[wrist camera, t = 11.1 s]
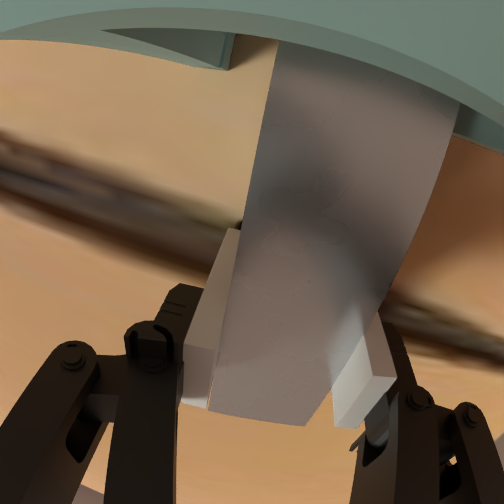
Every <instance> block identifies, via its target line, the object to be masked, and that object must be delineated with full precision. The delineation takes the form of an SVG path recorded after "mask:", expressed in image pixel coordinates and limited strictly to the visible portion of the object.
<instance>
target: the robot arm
mask: <svg viewBox="0 0 504 504" xmlns="http://www.w3.org/2000/svg"><path fill="white" fill-rule="evenodd" d="M240 232H241V230H237V229H232V228H228V230H227V232H226V235H225V237H224V240H223V242H222V245H221V247H220V250H219V252H218V255H217V257H216V260H215V262H214V265H213V267H212V270H211V273H210V275H209V278H208V280H207V283H206V285H205V288H199V287H195V286H190V285H186V284H182V283H180V284H178V285H177V286H175V287H174V288H172V289H171V290H170V291H169V293H168V294H167V296H166V298H165V300H164V303H163V304H162V306H161V308H160V311H159V312H158V314H157V316H156V318H155V320H154V321H142V322H139V323H136V324H134V325H133V326H131V327H130V328H128V329H127V331H126V333H125V335H124V342H125V349H126V354H125V355H117V356H111V355H96V352H95V351H94V349H93V348H92V347H91V346H90V345H88V344H87V343H85V342H81V341H67V342H65V343H62V344H60V345H59V346H57V347H56V348H55V349H54V350H53V351H52V353H51V354H50V355H49V357H48V358H47V359H46V361H45V362H44V364H43V365H42V366H41V368H40V369H39V370H38V372H37V373H36V375H35V376H34V377H33V379H32V380H31V382H30V383H29V384H28V386H27V387H26V389H25V390H24V392H23V393H22V395H21V396H20V398H19V399H18V400H17V402H16V403H15V405H14V406H13V408H12V410H11V411H10V413H9V414H8V416H7V417H6V419H5V420H4V422H3V423H2V425H1V427H0V504H72V501H73V499H74V497H75V495H76V492H77V490H78V488H79V485H80V483H81V481H82V479H83V477H84V474H85V472H86V470H87V468H88V466H89V463H90V461H91V459H92V457H93V455H94V453H95V451H96V448H97V446H98V444H99V442H100V440H101V438H102V436H103V434H104V432H105V430H106V428H107V426H108V423H109V422H113V423H114V427H113V433H112V439H111V445H110V452H109V459H108V467H107V475H106V483H105V493H104V504H176V456H177V424H178V407H179V403H180V400H181V403H185V404H189V405H193V406H197V407H201V408H205V409H206V407H207V403H208V399H209V395H210V390H211V386H212V382H213V378H214V374H215V370H216V364H217V358H218V352H219V346H220V340H221V334H222V329H223V323H224V318H225V312H226V307H227V301H228V296H229V290H230V285H231V279H232V274H233V269H234V263H235V258H236V253H237V248H238V242H239V237H240ZM332 397H333V410H334V424H335V428H352V429H357V427H358V426H359V425H360V424H361V423H362V422H363V420H364V421H365V428H366V430H365V431H364V432H363V434H362V435H361V436H360V437H359V438H358V439H357V440H356V441H355V442H354V443H353V444H352V445H351V447H350V450H349V451H353V450H354V449H355V448H356V447H357V446H358V450H357V460H356V467H355V474H354V480H353V486H352V492H351V497H350V503H349V504H504V471H503V467H502V464H501V461H500V458H499V455H498V452H497V449H496V446H495V443H494V441H493V438H492V435H491V432H490V430H489V427H488V424H487V422H486V419H485V417H484V415H483V413H482V411H481V410H480V409H479V408H478V407H477V406H476V405H474V404H472V403H470V402H463V403H460V404H459V405H458V406H457V407H456V408H455V409H454V410H451V409H448V408H444V407H441V406H438V405H436V404H435V403H434V400H433V397H432V396H431V395H430V393H429V392H428V391H427V390H425V389H424V388H423V387H420V386H418V385H417V382H416V379H415V376H414V373H413V369H412V366H411V363H410V360H409V357H408V355H407V351H406V348H405V346H404V343H403V340H402V337H401V334H400V332H399V331H398V330H397V329H396V327H395V326H394V325H393V324H392V323H388V322H382V321H381V320H380V317H379V314H378V311H377V313H376V315H375V317H374V318H373V320H372V322H371V324H370V326H369V327H368V329H367V331H366V333H365V334H363V336H362V338H361V340H360V341H359V343H358V345H357V347H356V348H355V350H354V352H353V353H352V355H351V357H350V358H349V360H348V362H347V363H346V365H345V367H344V368H343V370H342V372H341V373H340V375H339V376H338V378H337V380H336V381H335V383H334V384H333V386H332ZM454 456H455V457H456V460H457V463H455V464H454V465H452V464H451V463H450V461H449V460H450V459H451V458H452V457H454Z"/></svg>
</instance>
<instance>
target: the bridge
mask: <svg viewBox="0 0 504 504" xmlns="http://www.w3.org/2000/svg"><path fill="white" fill-rule="evenodd" d="M236 33H239V34H247V35H254V36H260V37H266V38H272V39H277V40H282V41H287V42H292V43H297V44H301V45H306V46H310V47H314V48H318V49H322V50H326V51H329V52H333V53H337V54H340V55H344V56H347V57H350V58H353V59H357V60H360V61H363V62H366V63H369V64H372V65H375V66H378V67H380V68H383V69H386V70H389V71H391V72H394V73H397V74H399V75H402V76H404V77H407V78H409V79H412V80H414V81H416V82H419V83H421V84H423V85H426V86H428V87H430V88H432V89H434V90H437V91H439V92H441V93H443V94H445V95H447V96H449V97H451V98H453V99H455V100H457V101H459V102H461V103H460V107H459V110H458V114H457V118H456V121H455V125H454V128H453V132H452V136H455V137H458V138H461V139H463V140H466V141H469V142H472V143H474V144H477V145H479V146H482V147H485V148H487V149H490V150H492V151H494V152H497V153H499V154H502V155H504V0H0V40H38V41H53V42H65V43H74V44H83V45H90V46H98V47H104V48H110V49H116V50H122V51H128V52H133V53H138V54H143V55H147V56H152V57H156V58H161V59H165V60H169V61H173V62H177V63H181V64H185V65H189V66H192V67H199V68H209V69H217V70H224V71H228V68H229V63H230V58H231V53H232V49H233V44H234V39H235V35H236Z"/></svg>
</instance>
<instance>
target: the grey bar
mask: <svg viewBox="0 0 504 504" xmlns="http://www.w3.org/2000/svg"><path fill="white" fill-rule="evenodd" d="M460 103H461V102H459V101H457V100H455V99H453V98H451V97H449V96H447V95H445V94H443V93H441V92H439V91H437V90H434V89H432V88H430V87H428V86H426V85H423V84H421V83H419V82H416V81H414V80H412V79H409V78H407V77H404V76H402V75H399V74H397V73H394V72H391V71H389V70H386V69H383V68H380V67H378V66H375V65H372V64H369V63H366V62H363V61H360V60H357V59H353V58H350V57H347V56H344V55H340V54H337V53H333V52H329V51H326V50H322V49H318V48H314V47H310V46H306V45H301V44H297V43H292V42H287V41H282V40H279V45H278V49H277V54H276V59H275V63H274V68H273V73H272V78H271V82H270V87H269V92H268V97H267V101H266V106H265V111H264V116H263V121H262V126H261V131H260V136H259V140H258V145H257V150H256V155H255V160H254V165H253V170H252V175H251V180H250V185H249V191H248V196H247V201H246V206H245V211H244V216H243V221H242V227H241V232H240V237H239V242H238V248H237V253H236V258H235V263H234V269H233V274H232V279H231V285H230V290H229V296H228V301H227V307H226V312H225V318H224V323H223V329H222V334H221V340H220V346H219V352H218V358H217V364H216V370H215V374H214V379H213V385H212V391H211V397H210V403H209V409H208V411H212V412H217V413H221V414H226V415H231V416H237V417H242V418H248V419H254V420H260V421H266V422H273V423H280V424H288V425H296V426H305V425H306V424H307V422H308V421H309V420H310V418H311V417H312V415H313V414H314V413H315V411H316V410H317V408H318V407H319V405H320V404H321V403H322V401H323V400H324V398H325V397H326V395H327V394H328V392H329V391H330V389H331V388H332V386H333V384H334V383H335V381H336V380H337V378H338V376H339V375H340V373H341V372H342V370H343V368H344V367H345V365H346V363H347V362H348V360H349V358H350V357H351V355H352V353H353V352H354V350H355V348H356V347H357V345H358V343H359V341H360V340H361V338H362V336H363V334H365V333H366V331H367V329H368V327H369V326H370V324H371V322H372V320H373V318H374V317H375V315H376V313H377V311H378V309H379V307H380V306H381V304H382V302H383V300H384V298H385V296H386V294H387V292H388V290H389V288H390V286H391V284H392V282H393V280H394V278H395V276H396V274H397V272H398V270H399V268H400V266H401V264H402V262H403V260H404V257H405V255H406V253H407V251H408V249H409V247H410V244H411V242H412V240H413V238H414V235H415V233H416V231H417V228H418V226H419V224H420V221H421V219H422V216H423V214H424V211H425V209H426V206H427V204H428V201H429V199H430V196H431V194H432V191H433V188H434V186H435V183H436V180H437V177H438V175H439V172H440V169H441V166H442V163H443V160H444V157H445V154H446V151H447V148H448V145H449V142H450V138H451V135H452V132H453V128H454V125H455V121H456V118H457V114H458V110H459V107H460Z"/></svg>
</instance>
